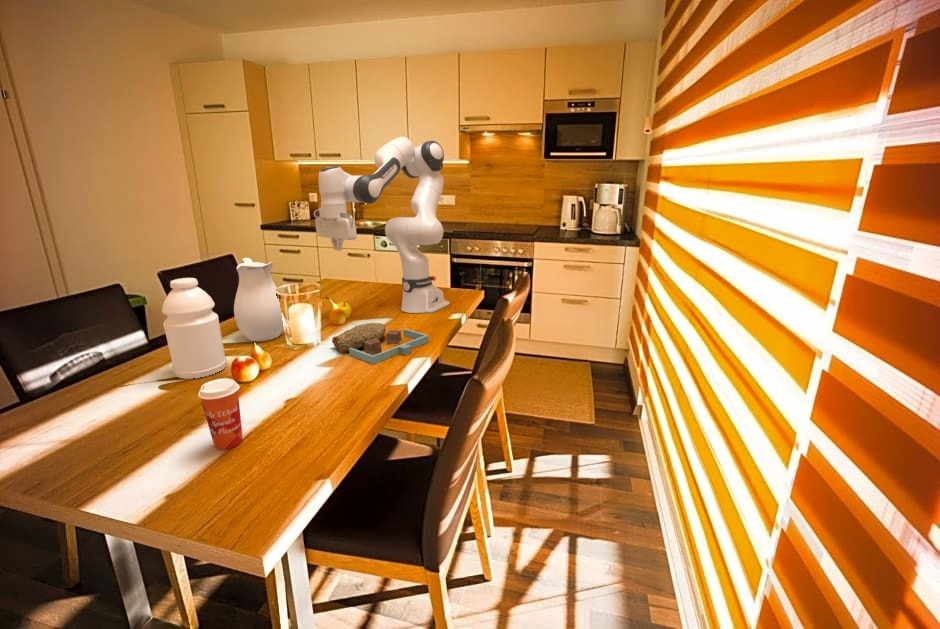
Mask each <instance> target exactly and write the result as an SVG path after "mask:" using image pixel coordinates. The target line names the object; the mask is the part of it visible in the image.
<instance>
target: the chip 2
mask: <svg viewBox="0 0 940 629" xmlns="http://www.w3.org/2000/svg"><path fill="white" fill-rule="evenodd" d="M385 339H386V342H385V343H386V345H390V344H398V345H399V344H400V343H401V342H402V330H401V329H400V330H397V329H389V330H388V331H387V332H385ZM400 341H401V342H400ZM399 342H400V343H399Z"/></svg>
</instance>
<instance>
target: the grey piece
mask: <svg viewBox="0 0 940 629" xmlns="http://www.w3.org/2000/svg"><path fill="white" fill-rule="evenodd" d="M402 330H403V331H402V332H403V334H402V335H403V337H406V336H407V337H406V338H410V337H411V338H410V339H412V340H410V341H408V342H405V343H402V344H400V345H399V344H398V345H396V346H394V347H392V348H389V349H386V350H384V351H382V352H381V353H379V354H376V355H370V354H367V353H365V351H361V350H358V349H353V348H349V351H348V353H349V354H348V355H349V357H352V356H353V357H352V358H355V357H356V358H355V359H358V360H360V359H361V360H360V361H363V362H365V363H368V362H369V363H368V364H371V365H376V364H378V363H381V362H383V361H386V360H388V359H390V358H389V357H391V356H393V357H395V356H394V355H396V354H398V355H401V354H403V355H402V356H404V355H406V354H408V355H410V354H412V350H413V349H415V348H418V347H421V346H423V345H424V344H427V343H429V342H430V341H429V339H430V338H429V336H430V335H428V334H425V333H421V332H417V331H414V330H412V329H408V328H403V329H402ZM413 338H414V339H413ZM422 344H423V345H422ZM417 346H418V347H417ZM414 347H415V348H414ZM412 348H413V349H412ZM399 353H400V354H399ZM409 353H410V354H409ZM396 356H397V355H396ZM406 356H407V355H406ZM387 358H388V359H387ZM391 358H392V357H391ZM385 359H386V360H385ZM382 360H383V361H382ZM380 361H381V362H380ZM377 362H378V363H377ZM375 363H376V364H375Z"/></svg>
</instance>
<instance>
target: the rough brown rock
mask: <svg viewBox="0 0 940 629" xmlns="http://www.w3.org/2000/svg"><path fill="white" fill-rule="evenodd" d="M386 331H387V328H386V325H385V324H384V323H382V322H381V323H380V322H368V323H367V322H366V323H362V324H358V325H355V326H354V327H352V328H350V329H347V330H346V331H344V332H342V333H340V334H338V335H335V336H333V337H332V340H331V342H332V344H333V346H334V347H336V349H338V351H339V352H340V353H347V352H349V348H353V349H356V350H358V349H360V348H364V341H367V340H371V339H377V340H379V341H380V339H381V338H382V337H383V336H384V335H386V333H387V332H386Z"/></svg>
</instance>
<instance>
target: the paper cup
mask: <svg viewBox="0 0 940 629" xmlns="http://www.w3.org/2000/svg"><path fill="white" fill-rule="evenodd" d="M240 388H241V387H240V384H238V382H236V381H235V380H234V379H232V378H217V379H214V380H210V381H207V382H205V383H204V384H202V385H201V387H200V389H199V392H198V398H200V401H201V405H202V409H203V412H204V415H205V419H206V422H207V425H208V429H209V433H210V436H211V439H212V443H213V446H214V448H215V449H216V450H219V451H226V450H231V449H234V448H236V447H238V446H239V445H241V444H242V442H243V441H244V440H243V428H242V427H243V426H242V425H243V424H242V418H241V417H242V416H241V410H240V400H239V399H240V398H239V389H240Z"/></svg>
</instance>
